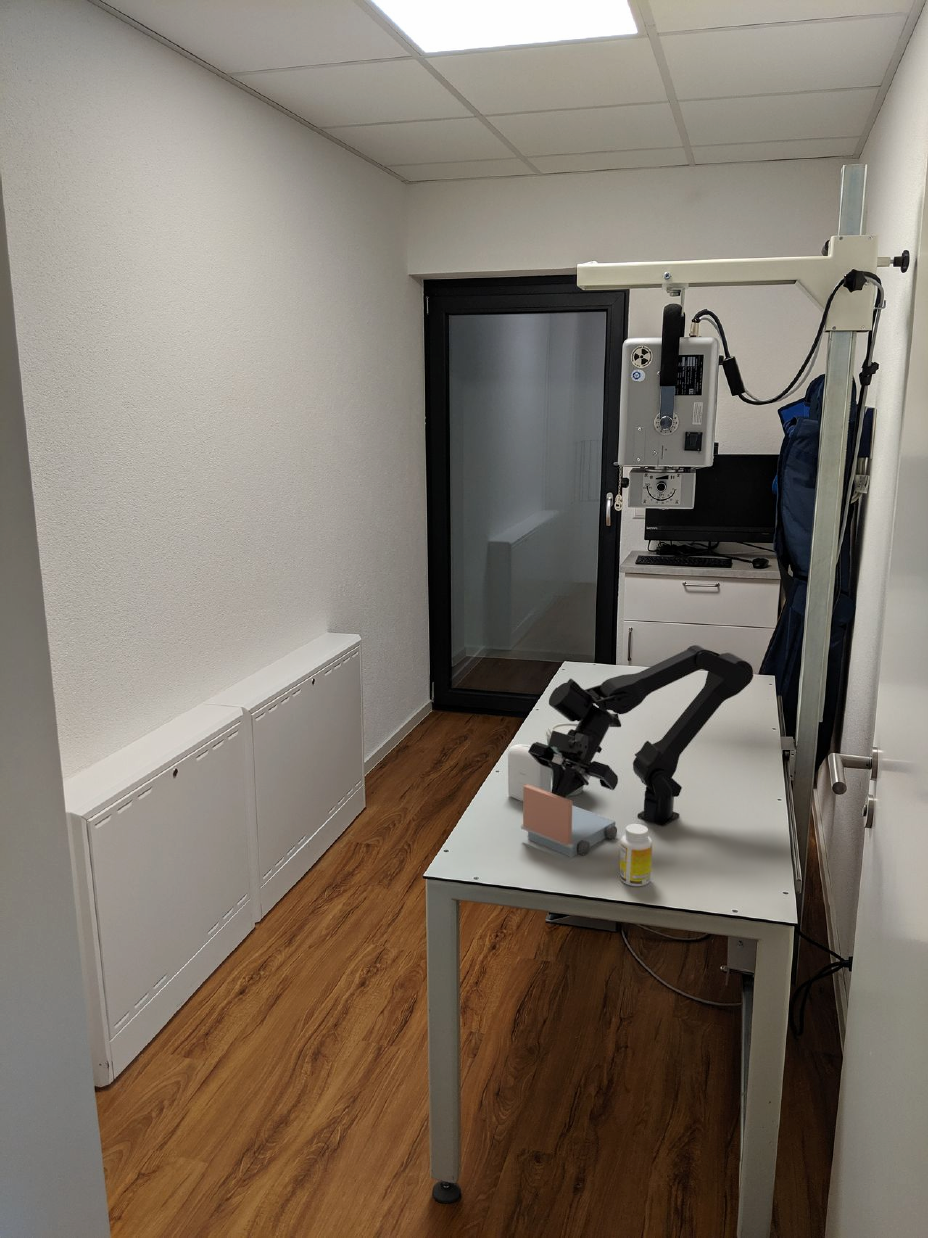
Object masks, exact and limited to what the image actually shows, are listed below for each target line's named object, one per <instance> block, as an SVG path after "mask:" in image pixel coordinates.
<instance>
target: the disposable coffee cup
mask: <svg viewBox="0 0 928 1238" xmlns="http://www.w3.org/2000/svg"><path fill="white" fill-rule="evenodd" d="M578 723H579V722H575V721H574V722H571V721H570V722H559V723H554V724H552V725H551V726H550V727H548V728H547V729H546V731H545V737H546V741H547V742H546V743H547V744H546V745H548V744H549V740H550V737H551V734H552V730H553V731H557V732H560V733H563V734H568V732H569V730H571V729H573V730H575V729H576V727H577V725H578ZM551 748H552V749H553V750H554V751H555V752H556V753H557V754H558V755H562V754H561V753H560V752H558V751H557V748H556V747H551ZM566 763H568V762H566ZM568 764H570V763H568ZM552 784H553V769H551V785H552ZM584 786H585V785H584ZM584 786H582V787H580V788H579V789H577V790H575V791H574V792H572V793H571V794H569V795H568V796H567V797H569V796H571V797H572V796H577V795H580V794H581V793H582V791H583V789H584Z"/></svg>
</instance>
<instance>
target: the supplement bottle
mask: <svg viewBox="0 0 928 1238" xmlns="http://www.w3.org/2000/svg"><path fill="white" fill-rule="evenodd" d="M652 849H653V840H652V839H651V837H650V836H649V829H648V827H647V826H646V825H644V824H640V823H631V824H628V825H627V826H626V827H625V833H624V834H623V835H622V836H621V839H620V855H619V856H620V859H619V879H620V880H621V882H622V883H623V884H625V885H628V886H630V887H643V886H646V885H647V884H649V883H650V881H651V875H652V855H653V850H652Z"/></svg>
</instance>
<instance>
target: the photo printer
mask: <svg viewBox="0 0 928 1238" xmlns="http://www.w3.org/2000/svg"><path fill="white" fill-rule="evenodd" d="M530 747H531V745H530V744H522V743H521V744H514V745H512V746H510V748H509V750H508V754H507V763H508V764H507V777H508V778H507V781H508V782H507V785H508V786H507V787H508V789H507V790H508V791H507V792H508V793H507V794H508V796H509V797H511V798H513V799H515V800H518V801H520V802H523V789H524V786H525V785H527V784H528V785H531V786H533V787H536V788H539V789H541V790H544V791H547V792H550V793H551V791H552V779H551V768H548V767H545V766H542V765H540V764H539V763H538V762H537V761H536V760H535V759H534V758H533V757H532V756H531V755H530V754H529V753H528V751H529V749H530Z"/></svg>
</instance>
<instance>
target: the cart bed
mask: <svg viewBox="0 0 928 1238" xmlns="http://www.w3.org/2000/svg"><path fill="white" fill-rule="evenodd" d="M527 832H528V831H527ZM617 833H618V828H617V826H616V821H615V820H613V819H611V818H609V817H605V816H602V815H600V814H597V813H594V812H593V811H589V810H586V809H584V808H580V807H578V806H575V805H573V804H572V841H571V844H573V845H574V848H573V849H570V848H568V847H565V846H563V845H560V844H558V843H555V842H553V841H550V840H548V839H546V838H543V837H541V836H538V835H536V834H533V833H531V832H528V834H527V839H528V840H530V841H532V842H535V843H537V844H540V845H542V846H544V847H547V848H549V849H552V850H555V852H559V853H560V854H564V855H566V856H568V857H571V858H574V857H575V856H577V855H579V854H580V855H581V856H586V855H587V854H589V851H590V850H591V847H593V846H595V845H596V844H598V843H600V842H601V841H604V840H605V839H609V840H613V839H615V837H616V836H617Z"/></svg>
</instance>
